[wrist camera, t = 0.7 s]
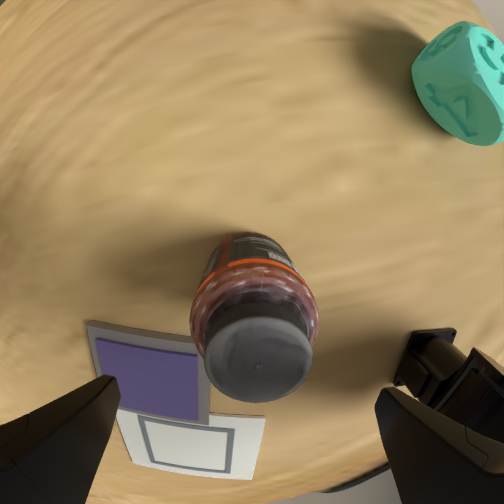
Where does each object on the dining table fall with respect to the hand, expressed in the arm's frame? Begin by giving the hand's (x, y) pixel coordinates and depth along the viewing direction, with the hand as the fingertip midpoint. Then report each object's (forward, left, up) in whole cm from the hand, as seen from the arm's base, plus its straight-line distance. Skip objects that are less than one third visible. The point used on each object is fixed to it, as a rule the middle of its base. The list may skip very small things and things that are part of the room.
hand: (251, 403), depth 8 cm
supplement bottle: (0, 0, -13) cm, 13 cm away
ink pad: (+8, +11, -13) cm, 18 cm away
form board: (+5, +22, -13) cm, 26 cm away
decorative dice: (-16, -18, -13) cm, 28 cm away
